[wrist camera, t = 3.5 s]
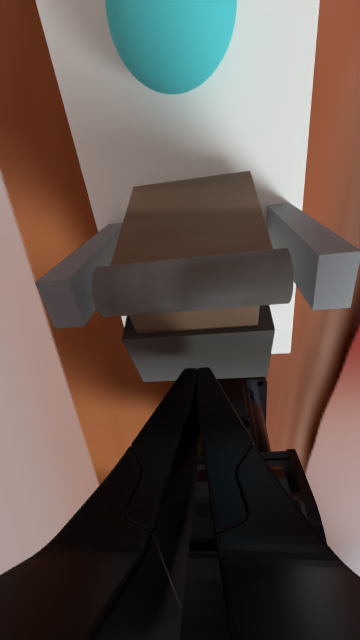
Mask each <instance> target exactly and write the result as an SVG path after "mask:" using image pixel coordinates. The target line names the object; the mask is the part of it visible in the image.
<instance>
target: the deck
mask: <svg viewBox="0 0 360 640" xmlns="http://www.w3.org/2000/svg"><path fill="white" fill-rule="evenodd" d="M35 1H36V5H37V8H38V12H39V16H40V19H41V23H42V27H43V30H44V34H45V38H46V41H47V45H48V49H49V53H50V56H51V60H52V64H53V67H54V71H55V75H56V78H57V82H58V86H59V89H60V93H61V97H62V100H63V104H64V108H65V112H66V115H67V119H68V123H69V126H70V130H71V134H72V137H73V141H74V145H75V148H76V152H77V156H78V159H79V163H80V167H81V170H82V174H83V178H84V182H85V185H86V189H87V193H88V196H89V200H90V204H91V207H92V211H93V215H94V218H95V222H96V226H97V229H98V233H97V234H95V235H94V236H93V237H92V238H90V239H89V240H88V241H87V242H85V243H84V244H83V245H82V246H80V247H79V248H78V249H77V250H75V251H74V252H73V253H72V254H70V255H69V256H68V257H66V258H65V259H64V260H63V261H61V262H60V263H59V264H58V265H56V266H55V267H54V268H53V269H51V270H50V271H49V272H48V273H46V274H45V275H44V276H43V277H41V278H40V279H39V280H38V281H36V282H35V283H36V286H37V288H38V290H39V293H40V295H41V298H42V300H43V302H44V305H45V307H46V310H47V312H48V314H49V317H50V319H51V321H52V324H53V326H54V329H59V328H72V327H84V326H85V325H86V323H87V322H88V320H89V319H90V317H91V316H92V315H93V313H94V312H95V310H96V307H95V305H94V301H93V297H92V288H91V283H92V275H93V272H94V270H95V269H96V268H97V267H101V266H110V265H111V262H112V258H113V255H114V251H115V248H116V244H117V241H118V238H119V234H120V231H121V227H122V224H123V220H124V217H125V213H126V210H127V206H128V203H129V200H130V196H131V193H132V189H133V187H134V186H142V185H149V184H156V183H164V182H171V181H178V180H185V179H193V178H200V177H207V176H215V175H222V174H229V173H237V172H244V171H250V172H251V175H252V179H253V182H254V186H255V189H256V192H257V196H258V199H259V203H260V206H261V209H262V213H263V216H264V220H265V223H266V227H267V230H268V233H269V237H270V240H271V244H272V247H273V249H280V248H287V249H288V250H289V252H290V255H291V259H292V265H293V277H294V283H293V294H292V298H291V301H290V303H288V304H275V305H269V306H270V310H271V315H272V319H273V323H274V328H275V333H274V339H273V345H272V351H271V354H280V353H290V350H291V338H292V326H293V314H294V302H295V290H296V286H297V287H298V289H299V290H300V292H301V293H302V295H303V296H304V298H305V300H306V301H307V303H308V304H309V306H310V307H311V309H312V310H323V309H337V308H350V307H351V302H352V297H353V292H354V287H355V282H356V277H357V272H358V267H359V262H360V250H359V249H358V248H356V247H355V246H353V245H352V244H350V243H349V242H347V241H346V240H344V239H343V238H341V237H340V236H338V235H337V234H335V233H334V232H332V231H331V230H329V229H328V228H326V227H325V226H323V225H322V224H320V223H319V222H317V221H316V220H314V219H313V218H311V217H310V216H308V215H307V214H306V213H304V212H303V211H302V206H303V194H304V182H305V170H306V158H307V146H308V134H309V122H310V110H311V98H312V86H313V74H314V62H315V50H316V38H317V26H318V14H319V2H320V0H237V10H236V19H235V26H234V30H233V34H232V38H231V41H230V44H229V46H228V49H227V51H226V54H225V56H224V58H223V60H222V61H221V63H220V64H219V66H218V67H217V69H216V70H215V72H214V73H213V74H212V75H211V76H210V77H209V78H208V79H207V80H206V81H205V82H204V83H203V84H201V85H200V86H198V87H197V88H195V89H193V90H191V91H189V92H186V93H182V94H172V95H171V94H164V93H159V92H156V91H154V90H152V89H150V88H148V87H146V86H145V85H143V84H142V83H141V82H140V81H138V80H137V79H136V78H135V77H134V76H133V75H132V74H131V72H130V71H129V70H128V69H127V67H126V66H125V64H124V63H123V61H122V59H121V58H120V56H119V54H118V52H117V49H116V47H115V45H114V42H113V40H112V36H111V33H110V29H109V26H108V20H107V14H106V6H105V0H35ZM126 317H127V316H121V318H122V322H123V325H124V327H125V322H126Z"/></svg>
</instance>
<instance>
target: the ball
mask: <svg viewBox="0 0 360 640" xmlns="http://www.w3.org/2000/svg"><path fill="white" fill-rule="evenodd" d="M105 6H106V14H107V20H108V26H109V29H110V33H111V36H112V40H113V42H114V45H115V47H116V49H117V52H118V54H119V56H120V58H121V59H122V61H123V63H124V64H125V66H126V67H127V69H128V70H129V71H130V72H131V74H132V75H133V76H134V77H135V78H136V79H137V80H138V81H140V82H141V83H142V84H143V85H145V86H146V87H148V88H150V89H152V90H154V91H156V92H159V93H164V94H171V95H172V94H182V93H186V92H189V91H191V90H193V89H195V88H197V87H198V86H200V85H201V84H203V83H204V82H205V81H206V80H207V79H208V78H209V77H210V76H211V75H212V74H213V73H214V72H215V70H216V69H217V67H218V66H219V64H220V63H221V61H222V60H223V58H224V56H225V54H226V51H227V49H228V46H229V44H230V41H231V38H232V34H233V30H234V26H235V19H236V10H237V0H105Z"/></svg>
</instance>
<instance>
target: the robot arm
mask: <svg viewBox="0 0 360 640" xmlns="http://www.w3.org/2000/svg"><path fill="white" fill-rule="evenodd" d="M259 381H262V382H259ZM266 399H267V381H266V378H265V377H247V378H224V379H217V378H216V377H215V375H214V373H213V372H212V370H211V368H209V367H201V368H198V369H196V368H185V369H184V370H183V371H182V373H181V374H180V376H179V377H178V378H177V380H176V381H175V383H174V384H173V385H172V387H171V388H170V390H169V391H168V393H167V394H166V395H165V397H164V398H163V400H162V401H161V403H160V404H159V405H158V407H157V408H156V410H155V411H154V412H153V414H152V415H151V417H150V418H149V420H148V421H147V422H146V424H145V425H144V427H143V428H142V430H141V431H140V432H139V434H138V435H137V437H136V438H135V439H134V441H133V442H132V444H131V446H130V447H129V448H128V449H127V451H126V452H125V454H124V455H123V456H122V458H121V459H120V460H119V462H118V463H117V464H116V466H115V467H114V468H113V470H112V471H111V472H110V474H109V475H108V476H107V477H106V478H105V480H104V481H103V482H102V483H101V484H100V486H99V487H98V488H97V489H96V490H95V492H94V493H93V494H92V495H91V496H90V497H89V499H88V500H87V501H86V502H85V503H84V504H83V505H82V507H81V508H80V509H79V510H78V511H77V512H76V513H75V515H74V516H73V517H72V518H71V519H70V520H69V522H68V523H67V524H66V525H65V526H64V527H63V529H62V530H61V531H60V532H59V533H58V534H57V535H56V536H55V537H54V538H53V539H52V540H51V541H50V542H49V543H48V544H47V545H46V546H45V547H44V548H42V549H41V550H40V551H39V552H37V553H36V554H34V555H33V556H32V557H30V558H28V559H27V560H25V561H23V562H22V563H20V564H18V565H17V566H15V567H13V568H12V569H10V570H8V571H6V572H5V573H3V574H1V575H0V640H360V577H359V576H358V575H357V574H355V573H354V572H353V571H352V570H351V569H350V568H349V567H348V566H346V565H345V564H344V563H343V562H342V561H341V560H340V559H339V558H338V556H337V555H336V554H335V553H334V552H333V551H332V550H331V548H330V547H329V546H328V545H327V542H326V537H325V533H324V529H323V525H322V521H321V517H320V514H319V510H318V508H317V504H316V502H315V499H314V496H313V493H312V491H311V489H310V486H309V483H308V481H307V478H306V476H305V473H304V471H303V468H302V465H301V463H300V460H299V458H298V455H297V453H296V450H295V449H286V451H276V452H271V448H270V443H269V439H268V434H267V429H266Z"/></svg>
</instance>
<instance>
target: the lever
mask: <svg viewBox="0 0 360 640" xmlns="http://www.w3.org/2000/svg"><path fill="white" fill-rule="evenodd" d="M293 283H294V277H293V265H292V259H291V255H290V252H289V250H288V249H287V248H280V249H273V247H272V244H271V240H270V237H269V233H268V230H267V227H266V223H265V220H264V216H263V213H262V209H261V206H260V203H259V199H258V196H257V192H256V189H255V186H254V182H253V179H252V175H251V172H250V171H244V172H237V173H229V174H222V175H215V176H207V177H200V178H193V179H185V180H178V181H171V182H164V183H156V184H149V185H142V186H134V187H133V189H132V193H131V196H130V200H129V203H128V206H127V210H126V213H125V217H124V220H123V224H122V227H121V231H120V234H119V238H118V241H117V244H116V248H115V251H114V255H113V258H112V262H111V265H110V266H101V267H97V268H96V269H95V270H94V272H93V275H92V283H91V288H92V297H93V301H94V305H95V307H96V310H97V312H98V313H99V314H100V316H102V317H117V316H127V317H126V322H125V327H124V332H123V337H122V341H123V343H124V345H125V347H126V349H127V351H128V353H129V355H130V357H131V358H132V360H133V362H134V364H135V366H136V368H137V370H138V372H139V374H140V376H141V378H142V380H143V382H155V381H176V380H177V378H178V377H179V376H180V374H181V373H182V371H183V370H184V369H185V368H196V369H198V368H201V367H209V368H211V370H212V372H213V373H214V375H215V377H216V378H217V379H224V378H247V377H267V374H268V368H269V363H270V357H271V351H272V345H273V339H274V333H275V328H274V323H273V319H272V315H271V310H270V306H269V305H275V304H288V303H290V301H291V298H292V294H293Z"/></svg>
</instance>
